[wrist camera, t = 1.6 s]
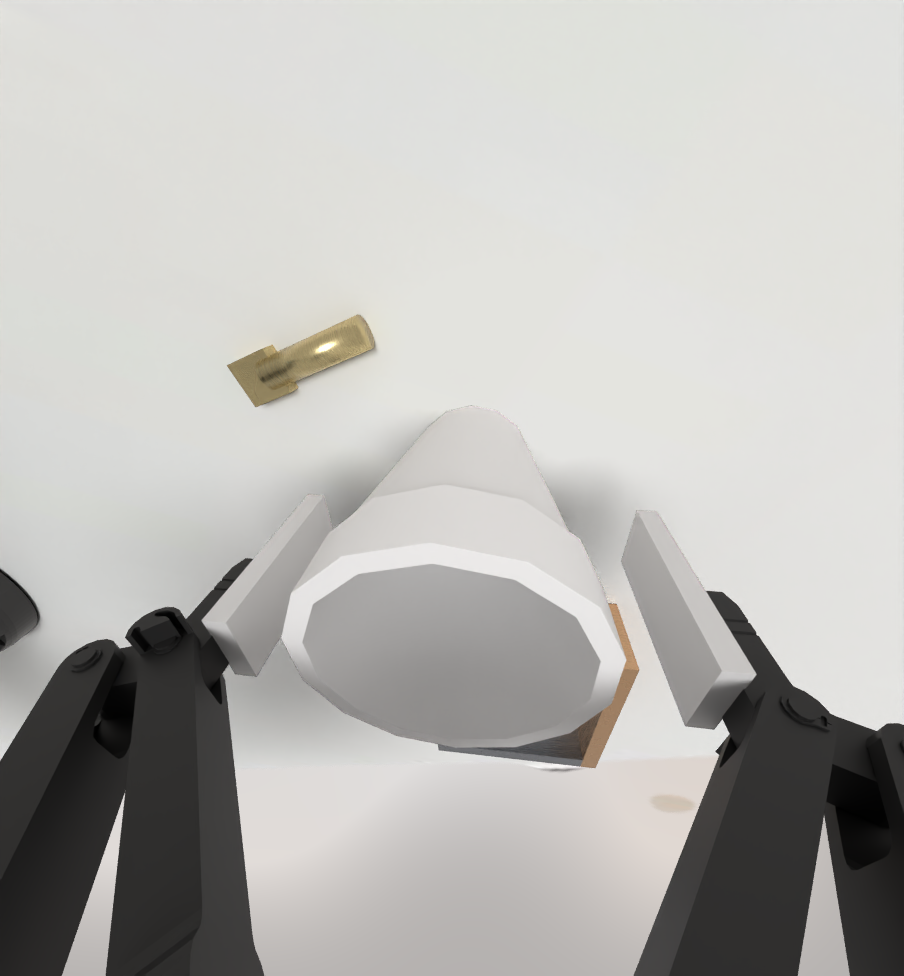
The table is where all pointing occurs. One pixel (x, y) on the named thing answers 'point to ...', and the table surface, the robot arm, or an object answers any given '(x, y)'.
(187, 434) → the table surface
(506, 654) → the foam cup
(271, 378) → the brass key
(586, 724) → the channel
